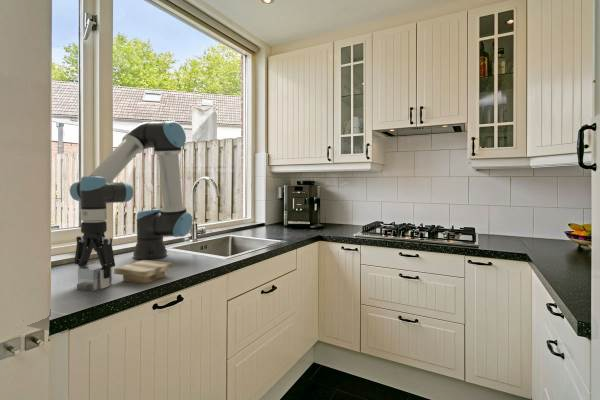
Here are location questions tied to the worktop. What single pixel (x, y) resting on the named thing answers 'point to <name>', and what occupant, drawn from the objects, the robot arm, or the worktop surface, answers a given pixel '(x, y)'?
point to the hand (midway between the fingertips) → (94, 285)
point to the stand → (143, 271)
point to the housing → (90, 277)
